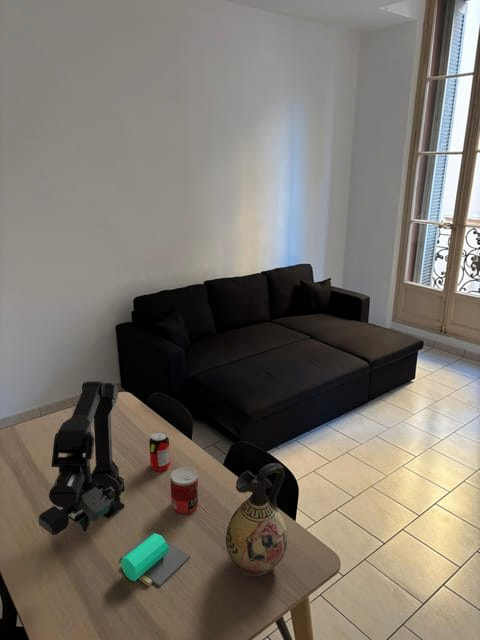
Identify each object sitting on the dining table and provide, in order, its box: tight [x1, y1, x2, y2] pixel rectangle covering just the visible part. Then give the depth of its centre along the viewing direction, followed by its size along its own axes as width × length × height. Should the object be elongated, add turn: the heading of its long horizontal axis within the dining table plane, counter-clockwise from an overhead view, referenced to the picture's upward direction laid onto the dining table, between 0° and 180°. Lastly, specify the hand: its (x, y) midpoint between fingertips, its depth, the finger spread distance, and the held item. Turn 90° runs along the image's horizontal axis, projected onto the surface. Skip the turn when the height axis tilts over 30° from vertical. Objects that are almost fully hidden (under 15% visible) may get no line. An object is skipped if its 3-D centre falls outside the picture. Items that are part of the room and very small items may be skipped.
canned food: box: [169, 466, 199, 515], centre depth 140 cm, size 8×8×11 cm
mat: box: [120, 531, 191, 588], centre depth 124 cm, size 14×11×1 cm
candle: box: [120, 532, 168, 582], centre depth 121 cm, size 6×6×12 cm
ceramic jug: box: [225, 462, 288, 577], centre depth 118 cm, size 17×15×30 cm
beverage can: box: [149, 431, 171, 472], centre depth 157 cm, size 6×6×12 cm
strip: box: [137, 574, 153, 588], centre depth 119 cm, size 10×1×1 cm, turn 54°
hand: (84, 531), depth 115 cm, fingers closed
